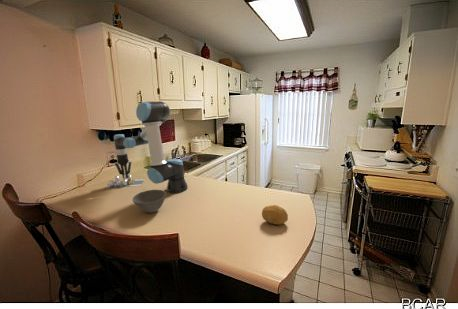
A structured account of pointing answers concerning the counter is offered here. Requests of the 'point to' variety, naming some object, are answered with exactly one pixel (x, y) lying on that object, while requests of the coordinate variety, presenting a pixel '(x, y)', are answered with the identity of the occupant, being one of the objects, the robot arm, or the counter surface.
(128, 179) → the spacers
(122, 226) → the counter surface
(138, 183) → the mat
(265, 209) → the potato
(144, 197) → the bowl
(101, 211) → the counter surface
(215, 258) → the counter surface
